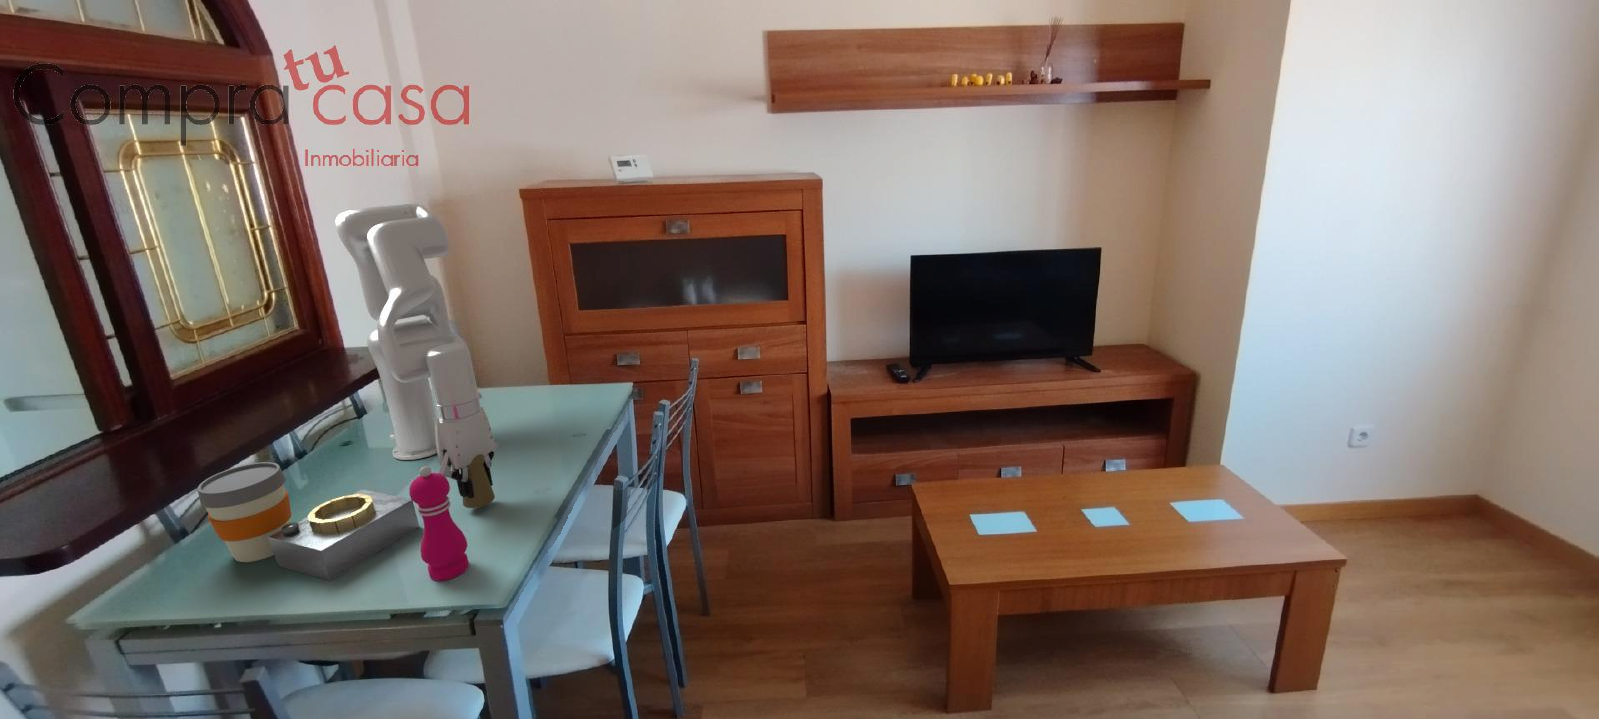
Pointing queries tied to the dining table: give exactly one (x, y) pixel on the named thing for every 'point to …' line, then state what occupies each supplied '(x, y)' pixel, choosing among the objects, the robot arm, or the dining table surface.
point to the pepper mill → (438, 527)
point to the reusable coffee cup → (247, 508)
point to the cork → (478, 484)
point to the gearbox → (343, 533)
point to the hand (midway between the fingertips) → (476, 490)
